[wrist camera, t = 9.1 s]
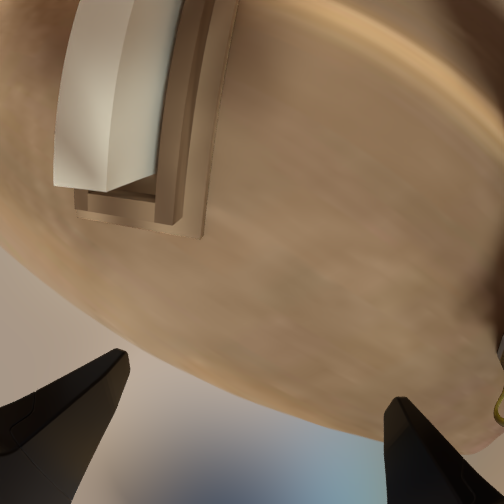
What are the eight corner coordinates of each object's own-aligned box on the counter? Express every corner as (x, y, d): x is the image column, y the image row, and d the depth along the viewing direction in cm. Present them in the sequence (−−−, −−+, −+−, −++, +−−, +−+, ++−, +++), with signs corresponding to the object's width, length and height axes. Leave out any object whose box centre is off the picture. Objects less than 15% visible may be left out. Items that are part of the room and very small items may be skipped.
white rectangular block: (187, -3, 13) (149, -44, 7) (157, 172, 18) (106, 192, 12) (138, 2, 13) (90, -30, 8) (112, 167, 18) (53, 185, 12)
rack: (248, -41, 12) (243, -60, 10) (203, 235, 20) (192, 250, 17) (118, -29, 12) (101, -41, 10) (82, 214, 20) (62, 224, 18)
